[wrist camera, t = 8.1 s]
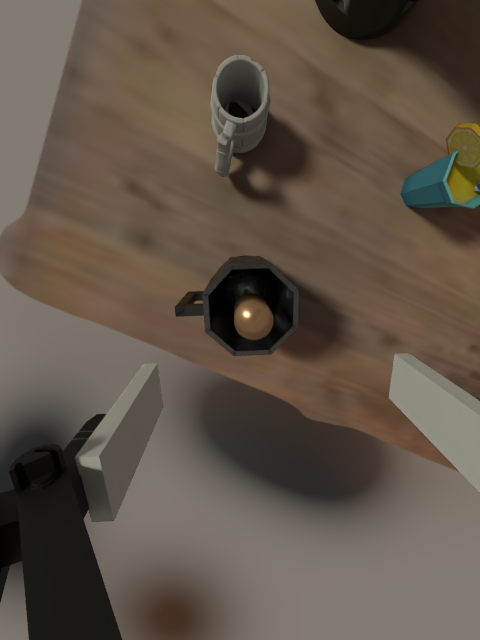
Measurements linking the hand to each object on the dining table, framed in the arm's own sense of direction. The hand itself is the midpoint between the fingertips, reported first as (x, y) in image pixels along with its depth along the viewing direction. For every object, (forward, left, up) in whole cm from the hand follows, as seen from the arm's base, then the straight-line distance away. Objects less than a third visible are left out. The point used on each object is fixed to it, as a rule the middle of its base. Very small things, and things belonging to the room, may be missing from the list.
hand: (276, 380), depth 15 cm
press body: (+2, 0, -32) cm, 32 cm away
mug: (+1, -22, -32) cm, 39 cm away
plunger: (0, 0, -30) cm, 30 cm away
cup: (-28, -14, -32) cm, 45 cm away
